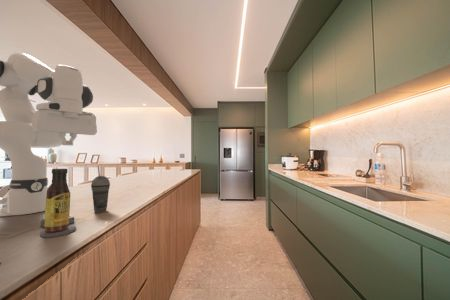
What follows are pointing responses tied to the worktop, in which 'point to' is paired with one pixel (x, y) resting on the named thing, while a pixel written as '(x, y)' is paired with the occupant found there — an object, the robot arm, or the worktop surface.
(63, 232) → the mat
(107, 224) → the worktop surface
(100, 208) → the beverage cup
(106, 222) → the worktop surface
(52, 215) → the sauce bottle
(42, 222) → the button housing
